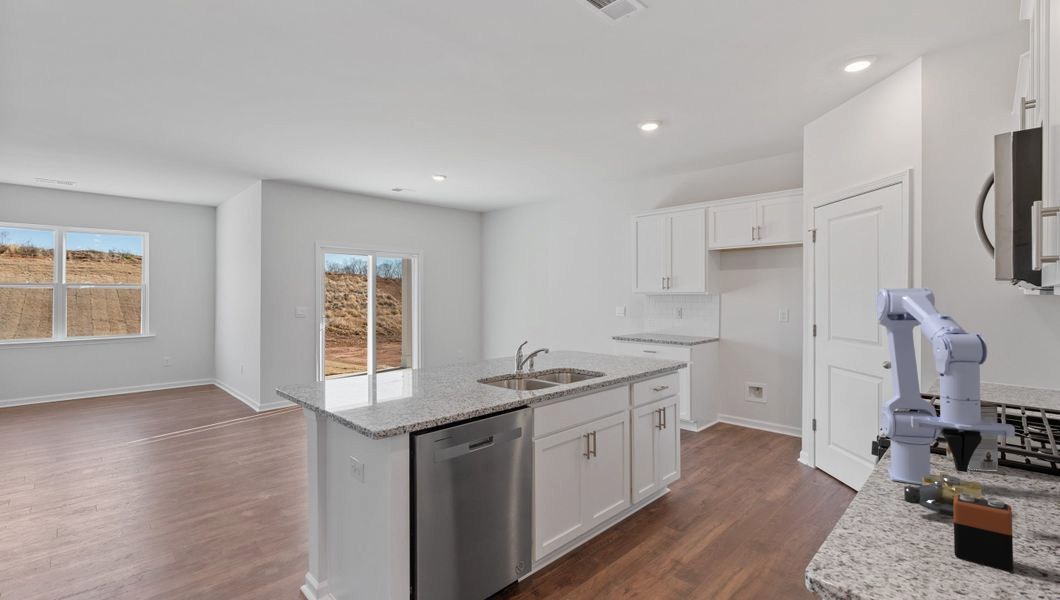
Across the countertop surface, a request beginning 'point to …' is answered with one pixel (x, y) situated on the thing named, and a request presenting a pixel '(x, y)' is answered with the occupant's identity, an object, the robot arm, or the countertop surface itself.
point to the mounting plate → (939, 506)
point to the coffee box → (984, 443)
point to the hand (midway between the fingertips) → (961, 470)
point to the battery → (983, 531)
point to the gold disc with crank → (941, 489)
